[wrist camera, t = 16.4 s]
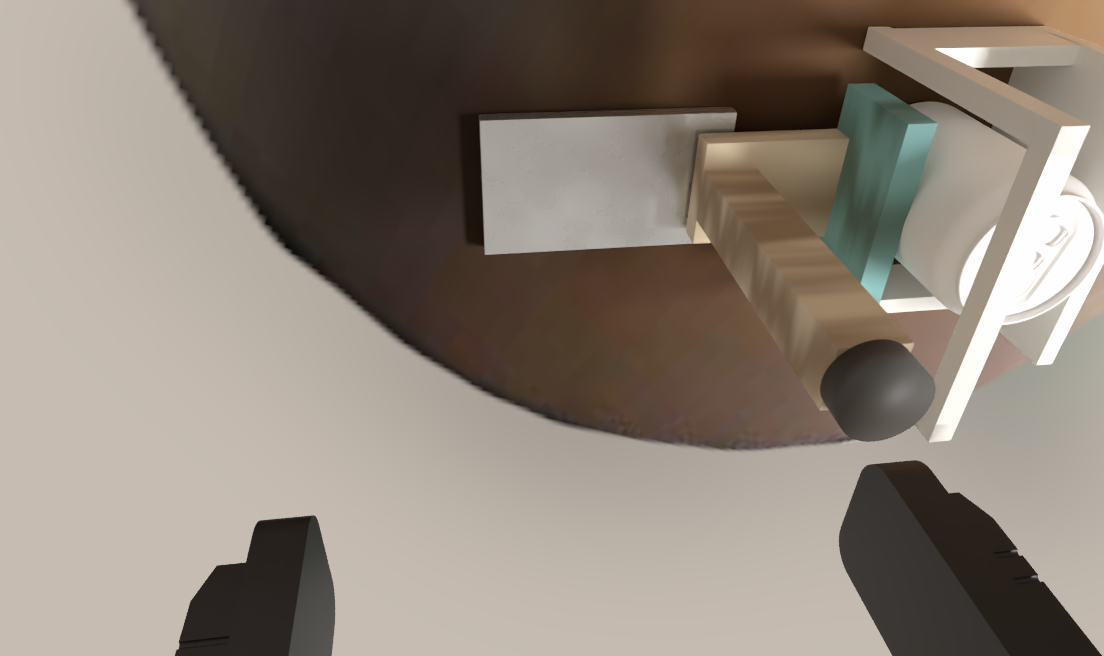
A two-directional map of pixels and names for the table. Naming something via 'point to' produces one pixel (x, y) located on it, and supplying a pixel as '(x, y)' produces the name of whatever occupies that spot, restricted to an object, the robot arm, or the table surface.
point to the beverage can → (990, 219)
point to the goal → (1052, 154)
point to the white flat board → (590, 177)
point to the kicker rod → (824, 249)
